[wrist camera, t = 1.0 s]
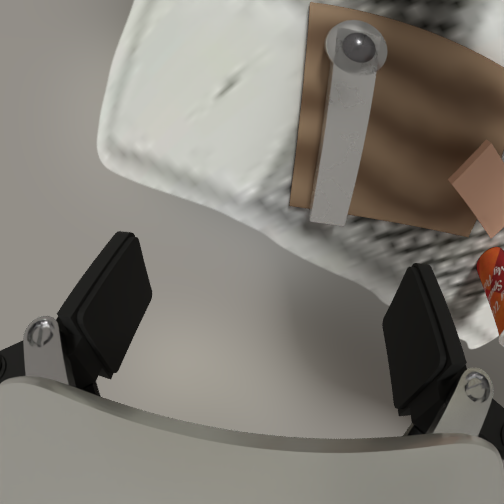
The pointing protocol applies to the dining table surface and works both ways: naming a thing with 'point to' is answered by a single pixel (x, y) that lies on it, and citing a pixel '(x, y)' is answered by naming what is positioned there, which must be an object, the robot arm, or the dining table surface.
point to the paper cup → (494, 284)
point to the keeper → (483, 186)
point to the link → (345, 116)
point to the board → (405, 122)
